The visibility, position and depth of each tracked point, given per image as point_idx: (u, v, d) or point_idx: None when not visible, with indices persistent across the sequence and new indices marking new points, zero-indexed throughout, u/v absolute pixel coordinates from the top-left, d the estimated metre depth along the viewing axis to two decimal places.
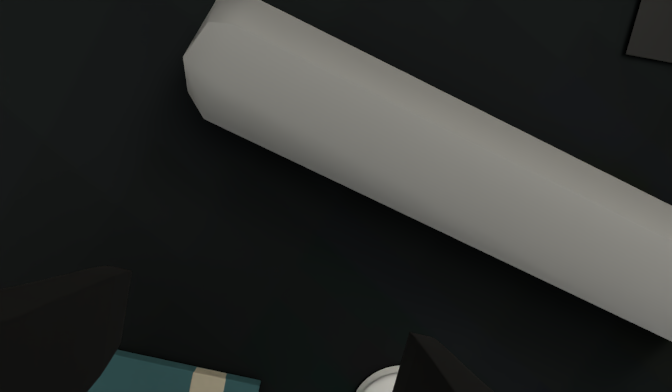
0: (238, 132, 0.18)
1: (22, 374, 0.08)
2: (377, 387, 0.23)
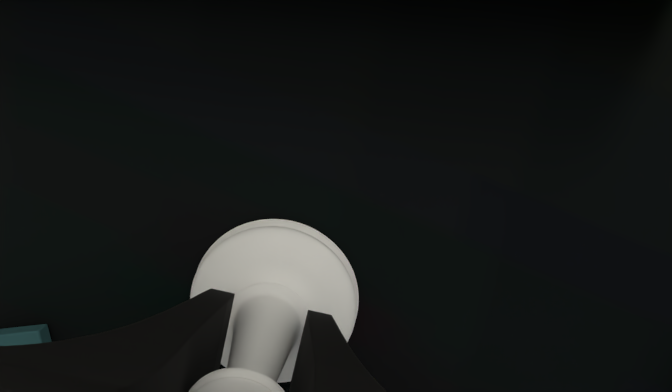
0: None
1: None
2: (206, 268, 0.14)
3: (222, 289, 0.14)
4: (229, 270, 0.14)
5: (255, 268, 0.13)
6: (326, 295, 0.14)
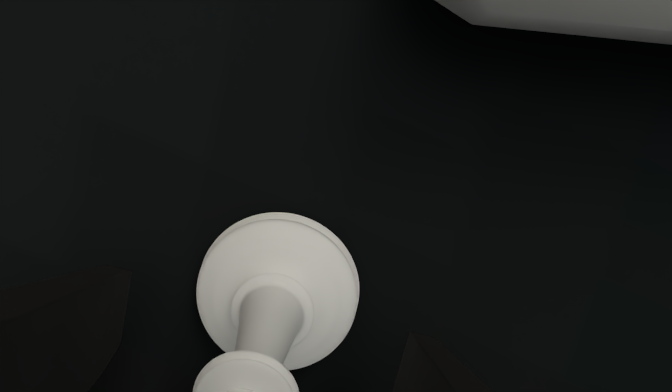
0: (561, 13, 0.10)
1: (21, 374, 0.08)
2: (212, 259, 0.14)
3: (228, 280, 0.14)
4: (235, 261, 0.14)
5: (260, 259, 0.14)
6: (328, 286, 0.14)
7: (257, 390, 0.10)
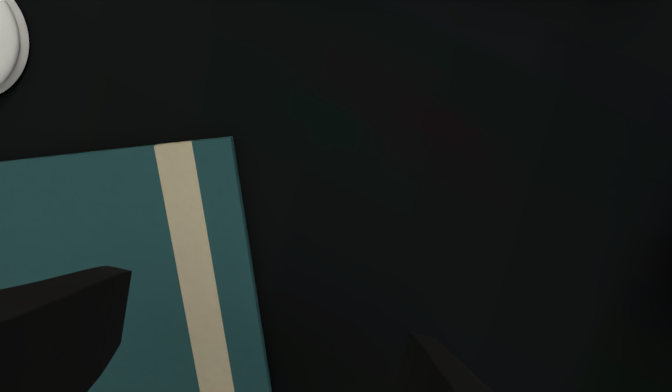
0: None
1: (22, 374, 0.08)
2: None
3: None
4: None
5: None
6: None
7: None
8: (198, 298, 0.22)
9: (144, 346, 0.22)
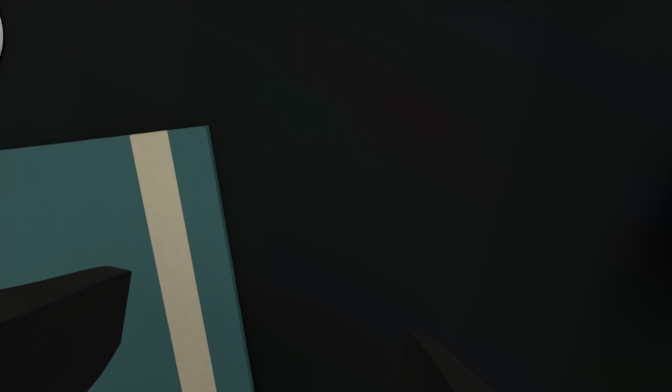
0: None
1: (22, 374, 0.08)
2: None
3: None
4: None
5: None
6: None
7: None
8: (177, 288, 0.22)
9: (123, 337, 0.22)
